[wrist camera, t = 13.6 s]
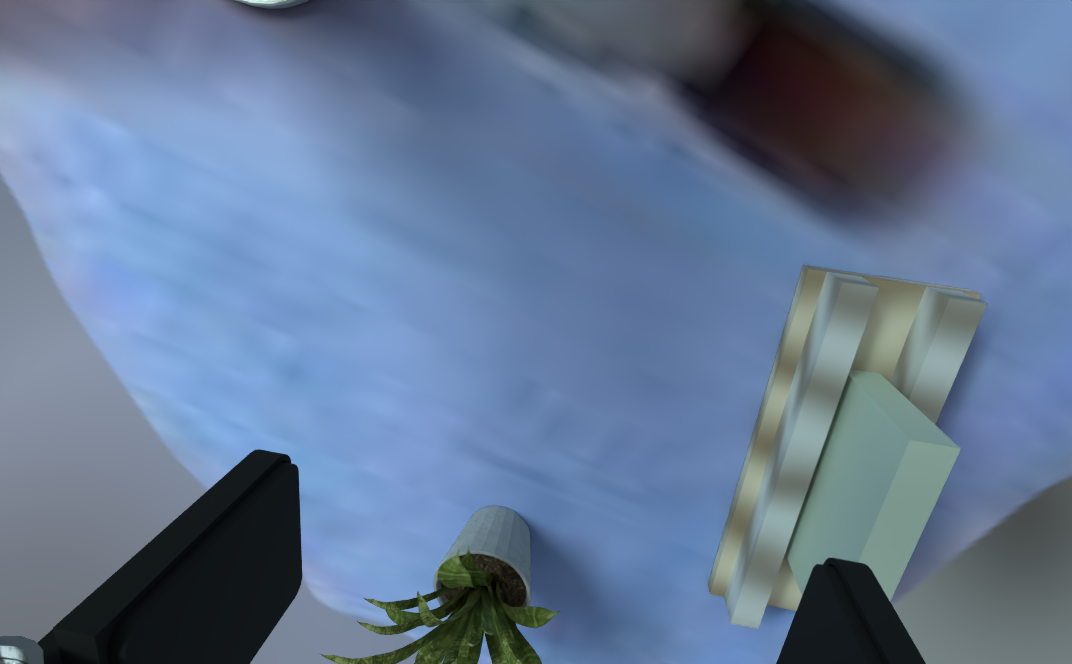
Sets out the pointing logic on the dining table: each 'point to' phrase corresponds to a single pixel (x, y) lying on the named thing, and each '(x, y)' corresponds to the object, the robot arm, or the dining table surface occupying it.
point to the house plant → (472, 599)
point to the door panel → (871, 483)
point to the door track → (781, 373)
